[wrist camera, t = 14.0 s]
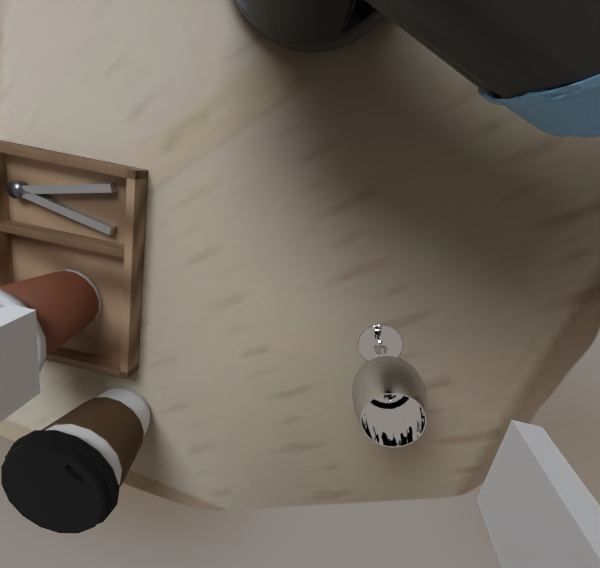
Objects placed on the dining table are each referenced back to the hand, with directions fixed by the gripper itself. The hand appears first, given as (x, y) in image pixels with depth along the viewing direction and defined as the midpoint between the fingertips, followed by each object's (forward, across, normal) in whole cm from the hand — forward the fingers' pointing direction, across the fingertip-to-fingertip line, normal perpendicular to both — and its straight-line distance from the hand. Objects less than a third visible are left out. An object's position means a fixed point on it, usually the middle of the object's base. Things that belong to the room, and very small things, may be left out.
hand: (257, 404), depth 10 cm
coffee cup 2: (+27, -19, -26) cm, 42 cm away
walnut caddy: (+27, -25, -8) cm, 38 cm away
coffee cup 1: (+26, -25, -12) cm, 38 cm away
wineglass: (+27, +8, -10) cm, 30 cm away
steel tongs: (+26, -25, -2) cm, 36 cm away
